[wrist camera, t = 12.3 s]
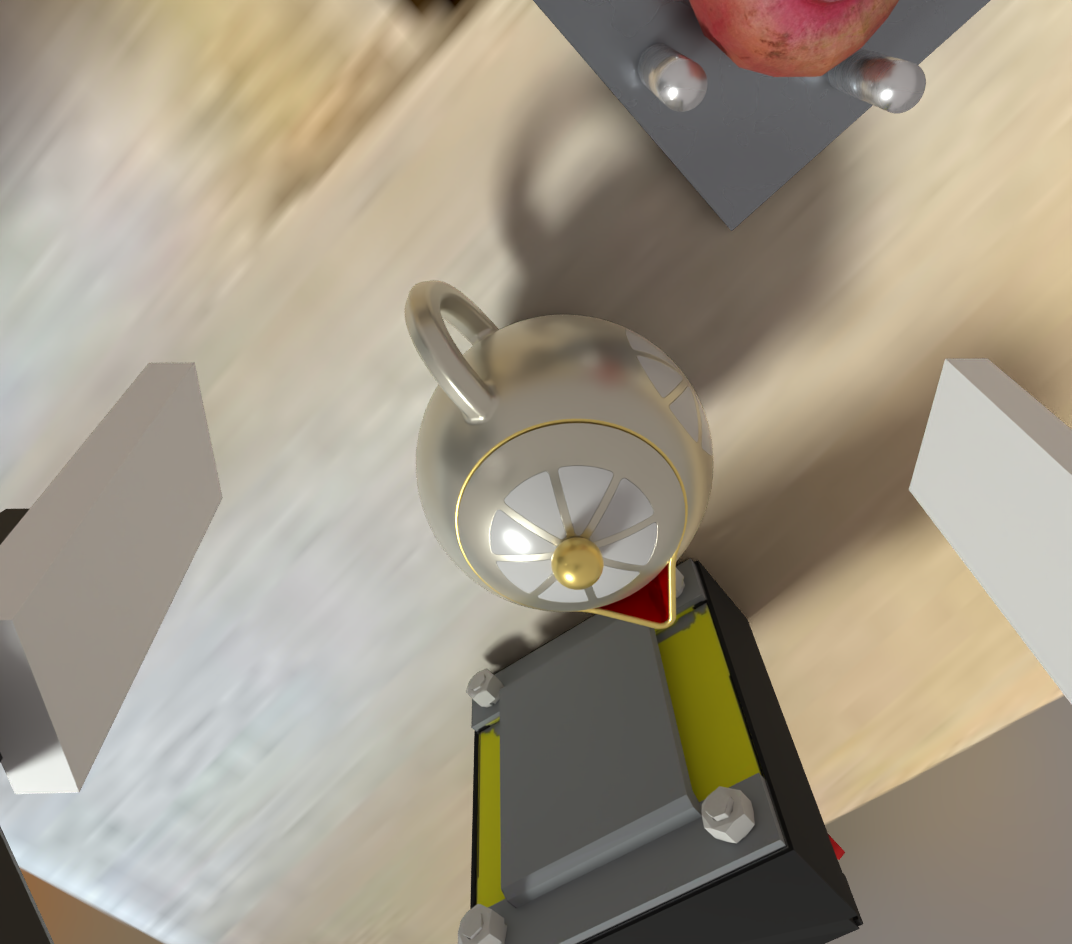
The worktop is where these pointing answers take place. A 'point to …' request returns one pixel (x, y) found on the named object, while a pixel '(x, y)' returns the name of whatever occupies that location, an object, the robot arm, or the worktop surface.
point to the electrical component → (646, 792)
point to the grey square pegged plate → (745, 89)
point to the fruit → (790, 32)
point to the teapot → (559, 458)
